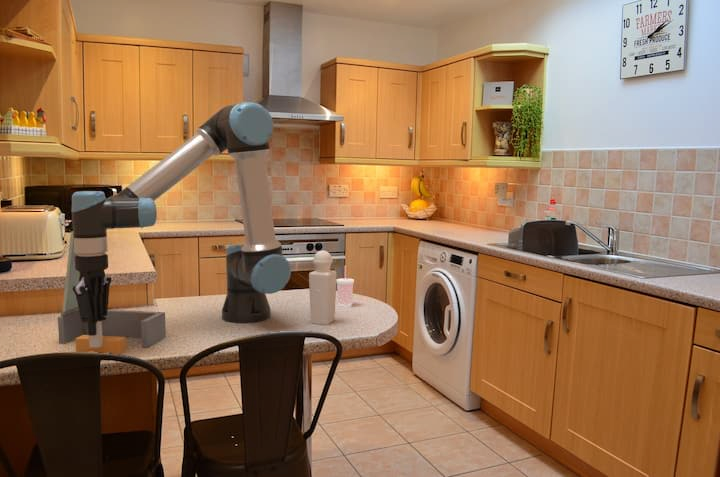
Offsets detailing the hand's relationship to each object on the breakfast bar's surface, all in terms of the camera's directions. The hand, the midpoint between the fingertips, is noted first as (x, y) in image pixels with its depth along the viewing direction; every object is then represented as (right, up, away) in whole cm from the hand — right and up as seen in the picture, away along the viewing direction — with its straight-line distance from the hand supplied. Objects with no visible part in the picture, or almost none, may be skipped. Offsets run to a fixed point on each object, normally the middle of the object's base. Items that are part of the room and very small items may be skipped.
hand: (96, 346), depth 148 cm
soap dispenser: (+55, +2, +31) cm, 63 cm away
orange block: (0, -2, +3) cm, 3 cm away
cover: (-9, +18, +10) cm, 23 cm away
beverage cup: (+61, +4, +53) cm, 81 cm away
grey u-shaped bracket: (0, 0, +12) cm, 12 cm away
